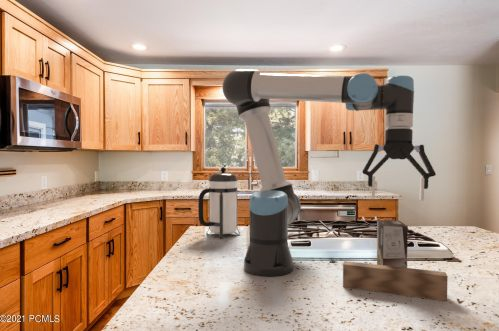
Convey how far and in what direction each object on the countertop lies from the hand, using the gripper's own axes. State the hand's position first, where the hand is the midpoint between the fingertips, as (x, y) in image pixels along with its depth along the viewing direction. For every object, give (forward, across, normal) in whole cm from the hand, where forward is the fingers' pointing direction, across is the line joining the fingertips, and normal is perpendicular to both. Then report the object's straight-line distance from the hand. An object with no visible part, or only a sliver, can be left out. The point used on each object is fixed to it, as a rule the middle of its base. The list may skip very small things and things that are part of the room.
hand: (396, 198), depth 102 cm
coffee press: (+23, -68, +25) cm, 76 cm away
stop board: (+22, -2, -19) cm, 29 cm away
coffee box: (+22, -2, -10) cm, 24 cm away
